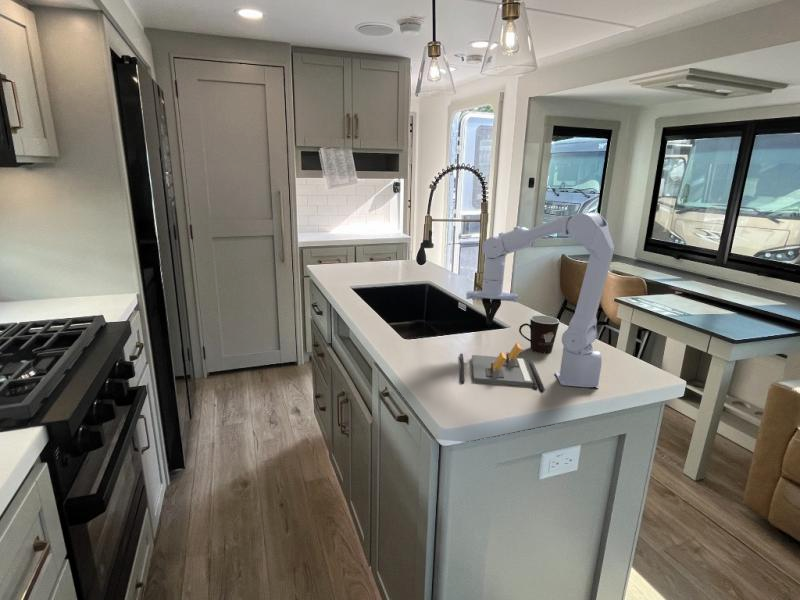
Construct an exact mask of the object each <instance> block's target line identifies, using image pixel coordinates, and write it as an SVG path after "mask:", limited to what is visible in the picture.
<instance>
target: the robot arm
mask: <svg viewBox="0 0 800 600" xmlns="http://www.w3.org/2000/svg"><path fill="white" fill-rule="evenodd" d="M555 234H562V235H565V236H566V235H570V236H571V238H573V239H574V240H575V241H577V242H578V243H580V244H581V245H583V247H584V248H585V249H586V251H587V253H588V254H589V258H588V262H587V266H586V269H585V272H584V276H583V281H582V284H581V287H580V293H579V296H578V300H577V303H576V308H575V311H574V314H573V316H572V317H571V320H570V321H569V323H568V327H567V329H566V330H565V331H564V332H563V333H562V334H561V335H562V336H561V343H562V355H561V361H560V362H561V363H560V369H559V371H555V372H554V373H555V376H556V378H557V379H558V381H559V383H560V385H561V386H565V387H566V386H568V387H569V386H570V387H581V388H590V387H599V388H600V386H599V382H600V375H601V371H602V370H601V368H602V354H601V352H600V351H599V350H594V348H593V344H592V343H594V342H595V341H596V340H597V337H598V330H597V324H598V319H597V314H598V310H599V307H600V303H601V299H602V295H603V293H604V288H605V284H606V281H607V277H608V275H609V271H610V266H611V263H612V260H613V255H614V252H615V246H614V242H613V238H612V237H611V234H610V230H609V223H608V221H607V220H606V219H605V218H604V217H603V215H601V214H600V213H599V212H595V211H590V212H586V213H585V212H583V213H582V212H581V213H576V214H572V215H567V216H562V217H557V218H555V219H553V220H551V221H548V222H545V223H543V224H540V225H538V226H534V227H532V228H527V227H525V226H520V225H517V226H515V227H513V230H510V231H508V232H505V233H504V232H500V233H498V236H490V237H488V238H487V239H485V240H484V241H483V243H482V247H481V248H482V249H481V250H482V253H483V255H484V267H483V278H482V288H481V289H482V290H477V291H476V290H473V291H472V290H467V291H466V295H465V296H466V300H471V299H473V300H481V302H482V306H483V308H484V312H485V316H486V325H491V326H492V324H493V321H494V319H495V316H496V314H497V312H498V310H499V309H500V307H501V305H502V301H503V302H513V303H517V302H518V296H519V295H518V294H517V293H509V292H503V288H504V287H503V286H504V277H505V276H504V275H505V267H506V256H507V255H508V254H509V255H510V254H512V253H515V252H517V251H522V250H525V249H528V248H530V247H531V246H532V243H533V242H534V241H537V240H539V239H542V238H546V237H550V236H552V235H555Z"/></svg>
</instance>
